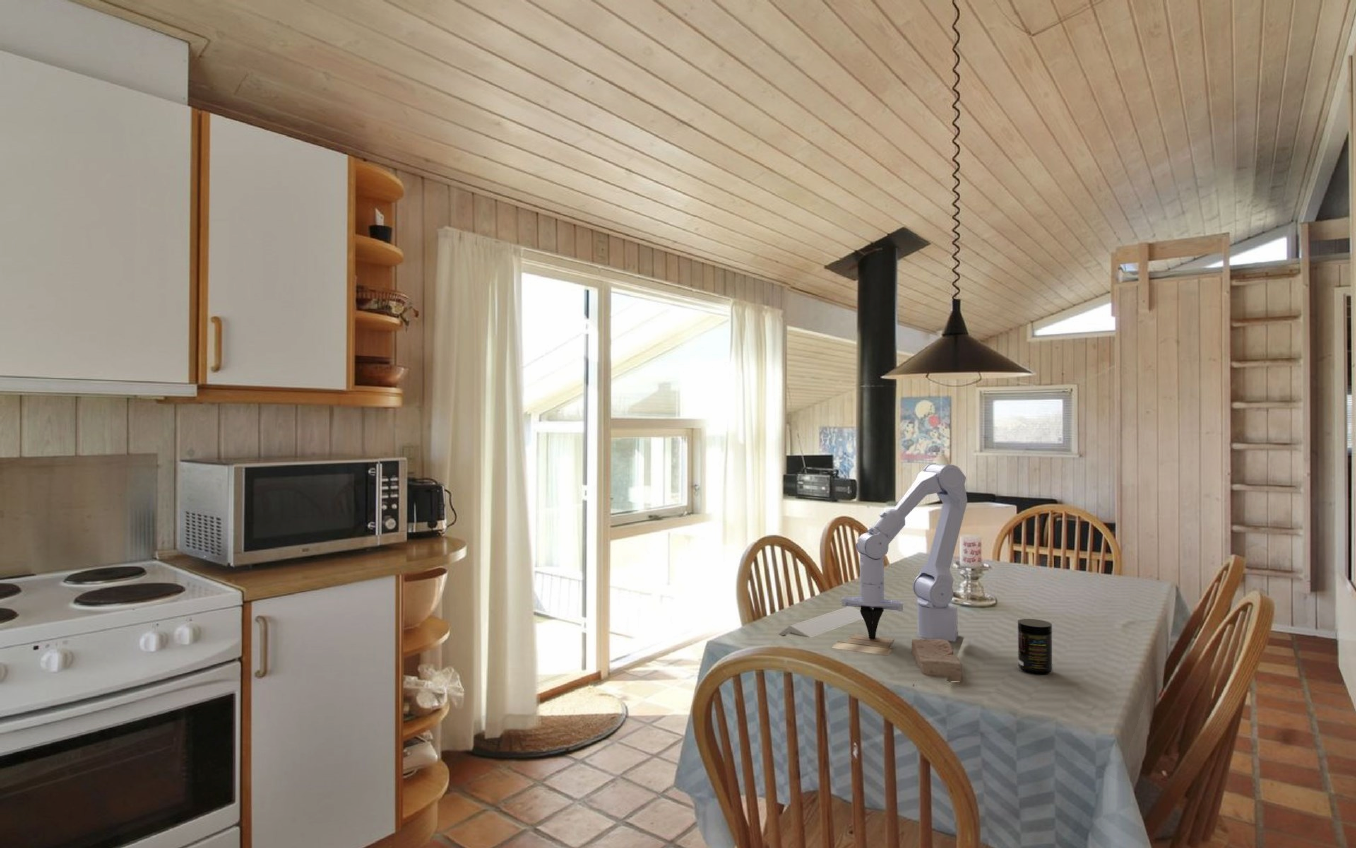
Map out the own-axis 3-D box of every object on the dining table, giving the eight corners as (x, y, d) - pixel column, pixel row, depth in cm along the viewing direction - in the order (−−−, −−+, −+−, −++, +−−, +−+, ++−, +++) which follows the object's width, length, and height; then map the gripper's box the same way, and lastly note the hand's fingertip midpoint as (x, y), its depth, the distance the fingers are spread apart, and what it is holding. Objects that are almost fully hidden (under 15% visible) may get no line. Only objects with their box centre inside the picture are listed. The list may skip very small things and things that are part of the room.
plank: (894, 644, 177) (894, 639, 177) (888, 652, 170) (888, 647, 170) (853, 639, 181) (853, 634, 181) (846, 647, 175) (846, 641, 175)
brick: (963, 684, 150) (963, 661, 150) (921, 681, 151) (921, 659, 152) (948, 659, 166) (948, 639, 166) (910, 657, 168) (910, 637, 168)
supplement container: (1059, 675, 154) (1058, 626, 154) (1029, 676, 153) (1028, 627, 154) (1040, 665, 161) (1040, 618, 161) (1011, 666, 160) (1011, 619, 160)
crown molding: (817, 646, 178) (817, 631, 178) (777, 636, 186) (777, 622, 186) (876, 623, 198) (876, 610, 198) (837, 616, 207) (837, 603, 207)
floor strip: (892, 653, 170) (892, 647, 170) (887, 660, 164) (887, 654, 164) (838, 646, 175) (837, 640, 175) (831, 653, 170) (831, 647, 170)
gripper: (903, 581, 179) (904, 636, 179) (844, 577, 184) (844, 630, 184) (901, 587, 172) (902, 644, 172) (840, 582, 178) (840, 638, 177)
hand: (872, 637), depth 178 cm, fingers closed
